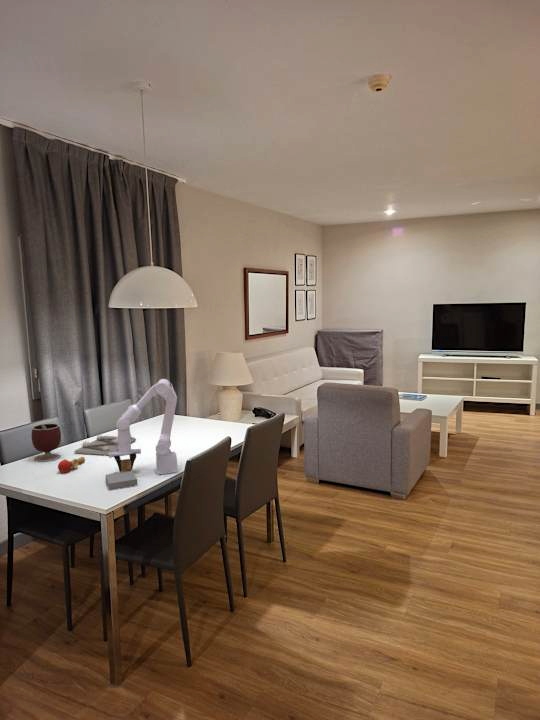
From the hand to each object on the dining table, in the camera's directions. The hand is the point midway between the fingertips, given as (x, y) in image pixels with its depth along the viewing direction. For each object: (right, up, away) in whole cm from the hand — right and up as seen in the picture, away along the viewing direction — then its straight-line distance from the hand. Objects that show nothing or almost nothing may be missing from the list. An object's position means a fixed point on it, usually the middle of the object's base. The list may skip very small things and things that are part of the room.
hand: (125, 470), depth 237 cm
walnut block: (0, -1, 0) cm, 1 cm away
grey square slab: (+2, -3, -13) cm, 14 cm away
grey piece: (-23, +3, +43) cm, 49 cm away
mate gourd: (-47, +1, +23) cm, 52 cm away
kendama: (-29, -1, +8) cm, 30 cm away
